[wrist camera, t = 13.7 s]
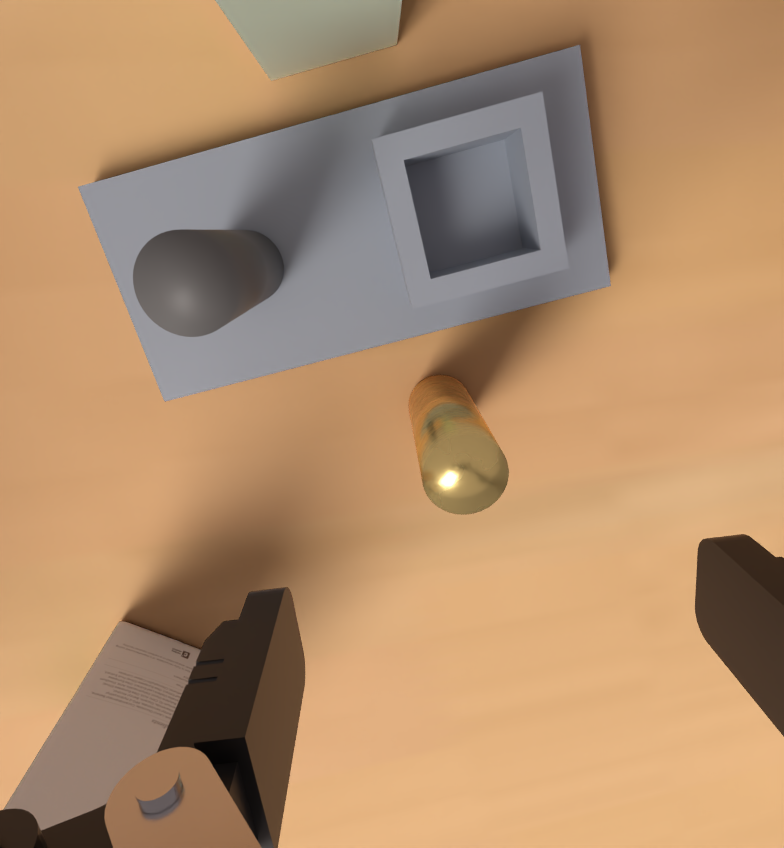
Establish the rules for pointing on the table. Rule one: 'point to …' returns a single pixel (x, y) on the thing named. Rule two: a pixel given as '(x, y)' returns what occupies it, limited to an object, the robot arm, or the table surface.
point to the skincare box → (107, 725)
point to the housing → (312, 30)
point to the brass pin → (455, 447)
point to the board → (359, 226)
